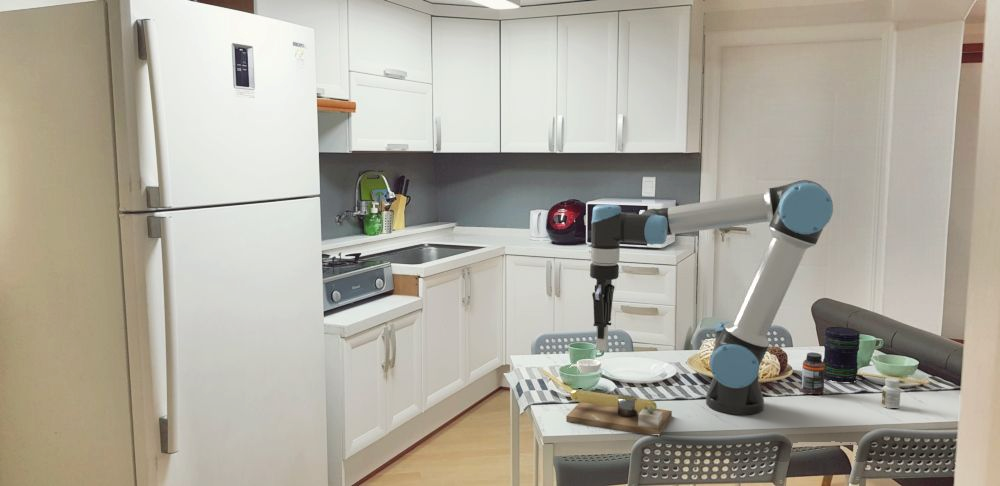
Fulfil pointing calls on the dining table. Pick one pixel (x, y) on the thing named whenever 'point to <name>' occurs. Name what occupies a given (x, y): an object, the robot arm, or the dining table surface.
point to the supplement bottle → (813, 374)
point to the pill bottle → (891, 393)
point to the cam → (614, 401)
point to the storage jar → (841, 354)
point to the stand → (620, 418)
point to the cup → (584, 363)
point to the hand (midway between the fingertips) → (601, 349)
